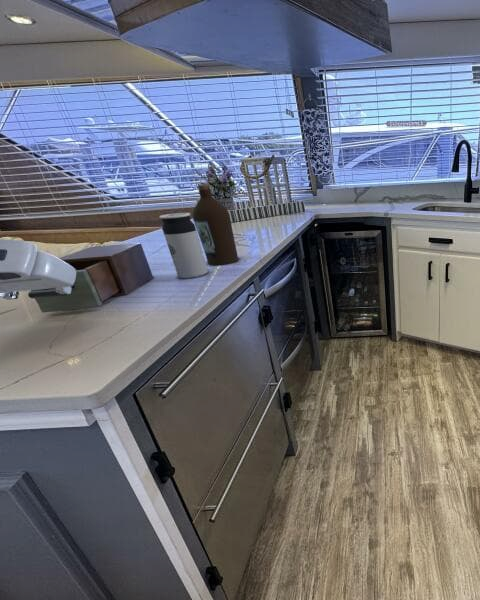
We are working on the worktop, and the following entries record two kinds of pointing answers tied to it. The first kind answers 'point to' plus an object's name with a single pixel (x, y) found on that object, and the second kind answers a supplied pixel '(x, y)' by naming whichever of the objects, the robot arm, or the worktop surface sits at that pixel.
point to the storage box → (119, 263)
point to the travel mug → (184, 245)
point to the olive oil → (214, 229)
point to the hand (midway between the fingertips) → (41, 293)
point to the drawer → (81, 288)
